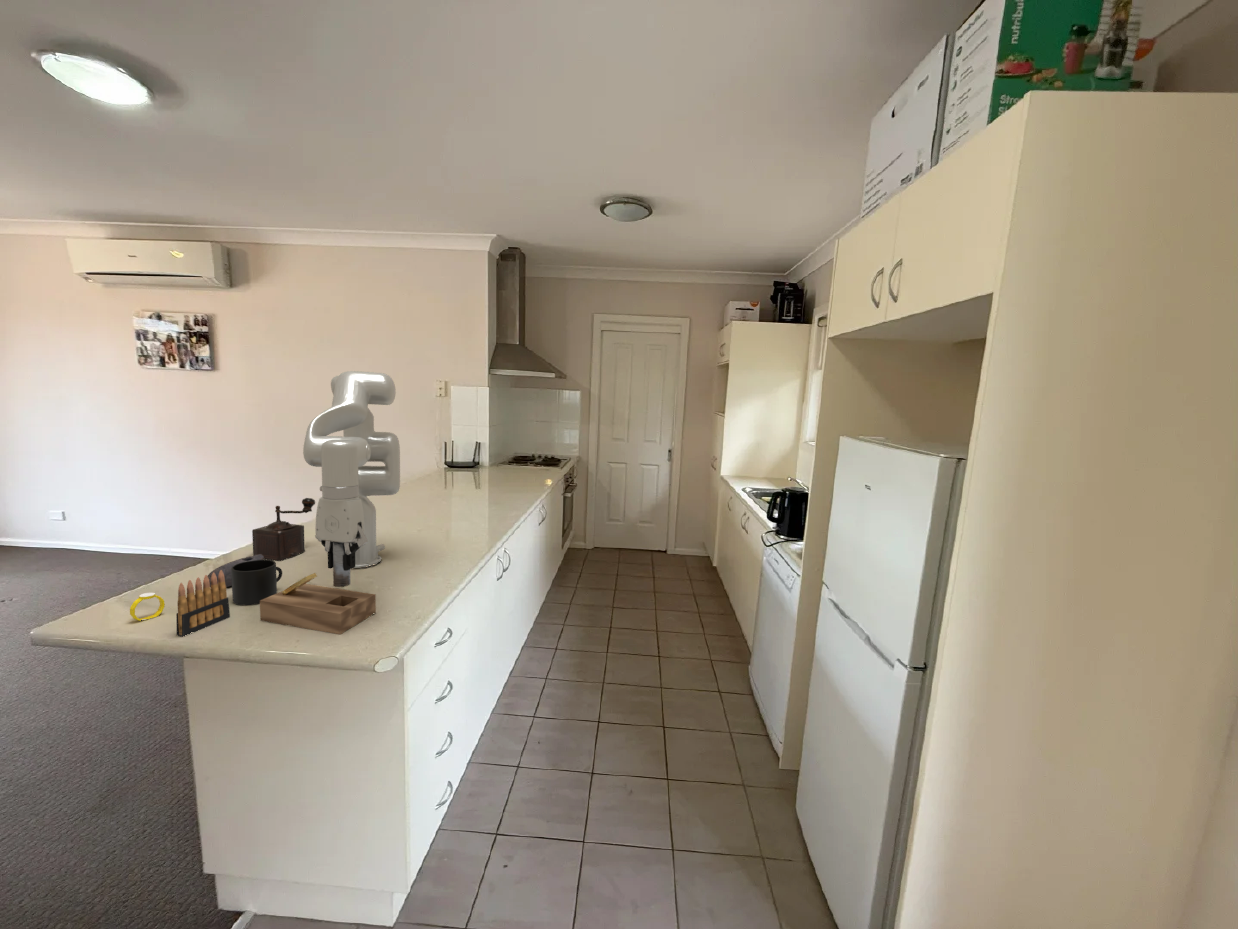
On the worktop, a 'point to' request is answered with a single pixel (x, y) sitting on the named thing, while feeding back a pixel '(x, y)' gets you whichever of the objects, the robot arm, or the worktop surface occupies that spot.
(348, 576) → the steel pin
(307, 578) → the bar
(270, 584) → the mug
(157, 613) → the yellow ring
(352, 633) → the worktop surface
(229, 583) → the perforated stone tool
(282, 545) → the manual coffee grinder
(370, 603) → the walnut block
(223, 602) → the ammunition clip
